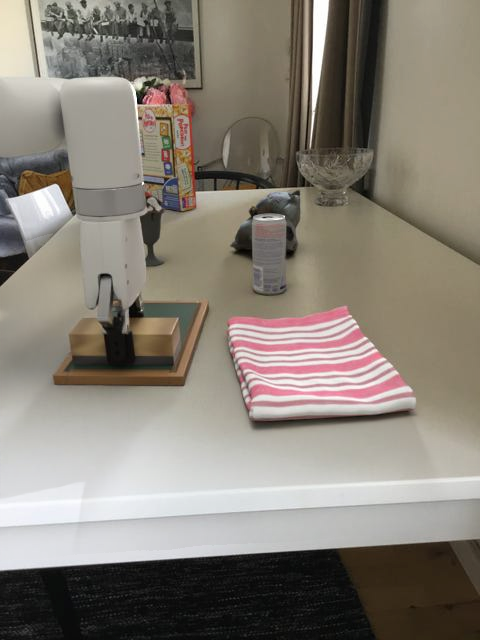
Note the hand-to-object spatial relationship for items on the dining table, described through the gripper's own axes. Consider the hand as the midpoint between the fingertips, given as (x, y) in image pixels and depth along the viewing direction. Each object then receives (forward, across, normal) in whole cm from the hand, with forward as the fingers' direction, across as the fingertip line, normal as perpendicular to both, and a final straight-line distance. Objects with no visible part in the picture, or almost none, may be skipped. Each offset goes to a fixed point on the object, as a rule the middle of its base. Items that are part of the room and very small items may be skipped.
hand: (127, 350), depth 68 cm
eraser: (+1, 0, 0) cm, 1 cm away
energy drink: (+2, -27, +16) cm, 32 cm away
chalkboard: (+2, -7, 0) cm, 7 cm away
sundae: (+2, -43, -6) cm, 44 cm away
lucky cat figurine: (+2, -51, +16) cm, 53 cm away
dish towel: (+2, +1, +22) cm, 22 cm away
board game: (+2, -98, -14) cm, 99 cm away
